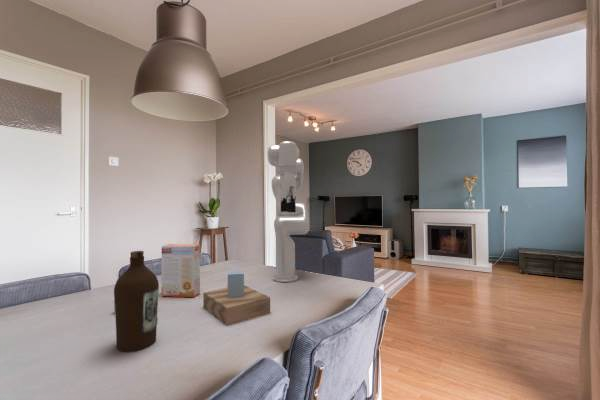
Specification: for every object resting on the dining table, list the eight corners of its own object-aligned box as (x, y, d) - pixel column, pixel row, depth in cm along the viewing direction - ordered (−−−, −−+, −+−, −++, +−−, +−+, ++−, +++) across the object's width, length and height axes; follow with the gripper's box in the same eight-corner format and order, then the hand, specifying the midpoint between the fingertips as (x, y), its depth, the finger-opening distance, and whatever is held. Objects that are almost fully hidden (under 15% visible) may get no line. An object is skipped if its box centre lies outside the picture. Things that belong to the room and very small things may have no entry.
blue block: (228, 293, 105) (228, 270, 105) (243, 292, 106) (243, 270, 106) (227, 297, 100) (227, 274, 100) (243, 296, 101) (243, 273, 101)
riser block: (203, 308, 106) (203, 292, 106) (242, 299, 116) (242, 284, 116) (227, 327, 90) (227, 307, 90) (270, 314, 100) (270, 297, 100)
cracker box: (200, 293, 122) (200, 243, 122) (193, 298, 116) (193, 245, 116) (169, 292, 123) (169, 243, 123) (160, 297, 117) (161, 245, 117)
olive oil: (104, 353, 74) (104, 255, 74) (130, 334, 84) (130, 248, 84) (144, 353, 73) (145, 255, 73) (165, 334, 84) (165, 248, 84)
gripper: (273, 173, 129) (273, 211, 128) (285, 168, 112) (285, 212, 112) (289, 173, 131) (289, 211, 131) (303, 169, 115) (303, 212, 115)
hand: (287, 211), depth 122 cm, fingers open, 9 cm apart
